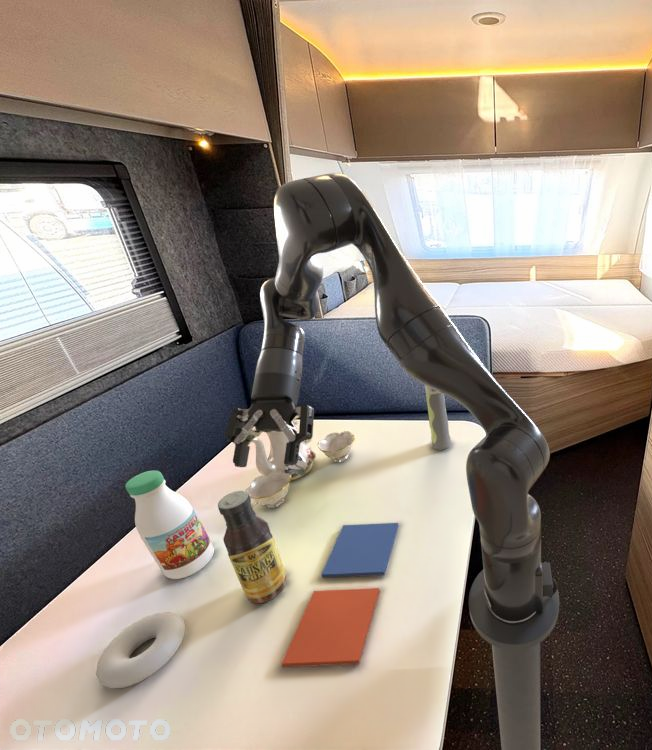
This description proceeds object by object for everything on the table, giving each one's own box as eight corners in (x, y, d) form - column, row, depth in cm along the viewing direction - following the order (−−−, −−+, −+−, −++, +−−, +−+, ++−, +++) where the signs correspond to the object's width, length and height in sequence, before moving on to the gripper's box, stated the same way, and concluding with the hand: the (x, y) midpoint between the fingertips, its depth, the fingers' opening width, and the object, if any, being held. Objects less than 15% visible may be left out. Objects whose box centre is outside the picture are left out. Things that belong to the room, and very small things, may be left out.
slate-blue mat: (398, 525, 77) (397, 522, 77) (384, 574, 67) (383, 571, 67) (344, 528, 77) (343, 525, 77) (322, 577, 68) (321, 574, 67)
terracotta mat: (379, 591, 65) (379, 588, 64) (359, 663, 55) (358, 660, 55) (314, 593, 65) (313, 590, 64) (282, 666, 55) (281, 663, 55)
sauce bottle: (248, 613, 62) (201, 524, 54) (246, 584, 67) (203, 497, 58) (292, 591, 65) (255, 503, 57) (288, 565, 70) (252, 480, 62)
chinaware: (272, 531, 80) (251, 470, 72) (221, 501, 86) (196, 442, 78) (368, 453, 102) (360, 400, 94) (322, 434, 108) (311, 383, 100)
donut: (93, 710, 51) (183, 666, 56) (78, 697, 50) (173, 652, 54) (115, 642, 59) (193, 608, 63) (103, 629, 58) (184, 595, 62)
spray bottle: (445, 437, 104) (437, 371, 95) (454, 446, 101) (446, 377, 92) (429, 444, 102) (418, 376, 93) (437, 453, 98) (427, 383, 89)
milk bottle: (154, 582, 68) (97, 496, 60) (184, 546, 75) (138, 464, 67) (197, 579, 68) (147, 493, 60) (224, 543, 75) (182, 462, 67)
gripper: (226, 372, 68) (207, 465, 63) (306, 368, 68) (294, 461, 63) (253, 385, 75) (238, 469, 70) (325, 381, 75) (316, 466, 70)
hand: (264, 465), depth 66 cm, fingers open, 8 cm apart
